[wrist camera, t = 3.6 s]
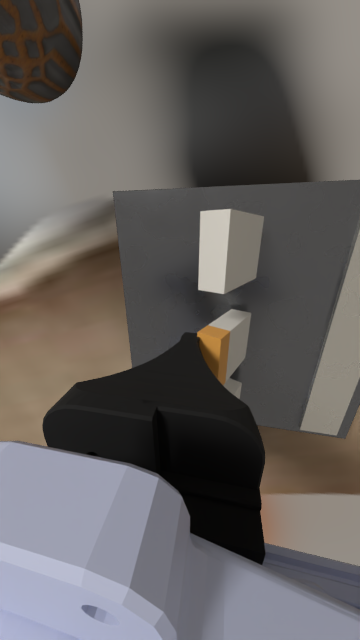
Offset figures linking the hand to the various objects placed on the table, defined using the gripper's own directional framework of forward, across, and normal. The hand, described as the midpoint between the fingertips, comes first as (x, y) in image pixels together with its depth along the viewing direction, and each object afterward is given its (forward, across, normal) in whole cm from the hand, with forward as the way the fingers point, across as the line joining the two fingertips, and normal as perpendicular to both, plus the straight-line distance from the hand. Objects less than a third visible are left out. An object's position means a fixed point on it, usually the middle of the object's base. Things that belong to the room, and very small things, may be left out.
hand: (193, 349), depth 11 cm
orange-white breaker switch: (+3, -3, 0) cm, 4 cm away
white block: (+3, -3, -5) cm, 7 cm away
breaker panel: (+5, -3, 0) cm, 6 cm away
